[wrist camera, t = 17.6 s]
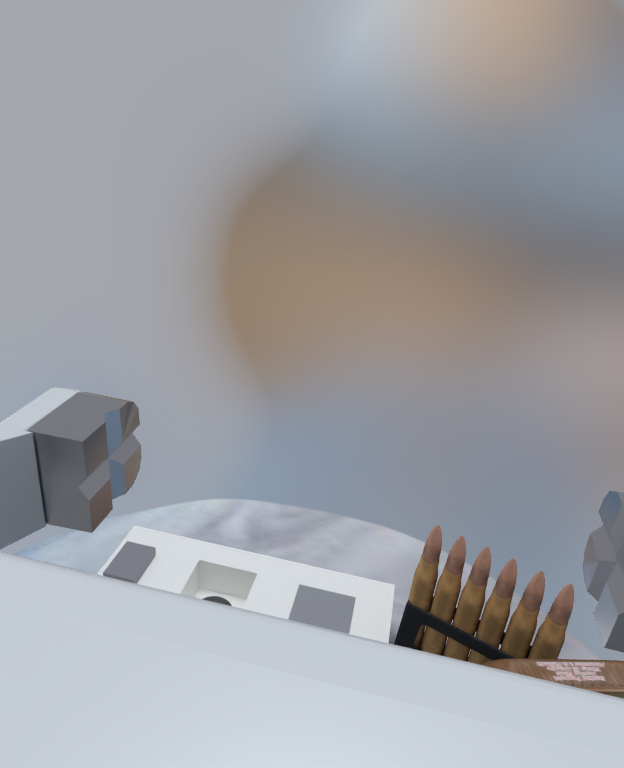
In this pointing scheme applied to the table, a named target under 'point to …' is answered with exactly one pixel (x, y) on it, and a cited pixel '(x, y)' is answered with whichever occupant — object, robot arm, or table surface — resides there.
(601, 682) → the tin
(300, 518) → the table surface
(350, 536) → the table surface
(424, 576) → the ammunition clip
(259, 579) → the power strip
